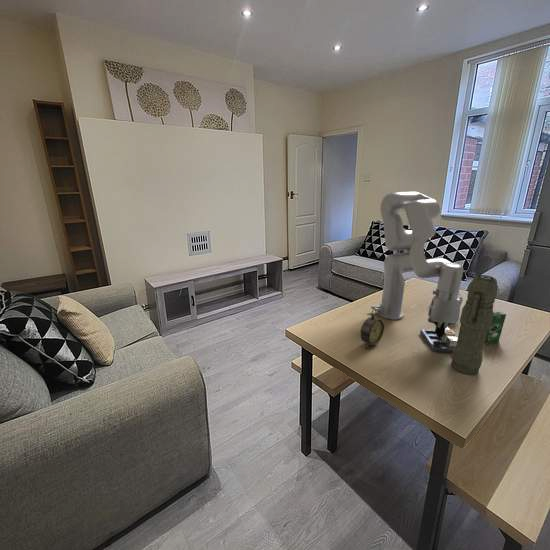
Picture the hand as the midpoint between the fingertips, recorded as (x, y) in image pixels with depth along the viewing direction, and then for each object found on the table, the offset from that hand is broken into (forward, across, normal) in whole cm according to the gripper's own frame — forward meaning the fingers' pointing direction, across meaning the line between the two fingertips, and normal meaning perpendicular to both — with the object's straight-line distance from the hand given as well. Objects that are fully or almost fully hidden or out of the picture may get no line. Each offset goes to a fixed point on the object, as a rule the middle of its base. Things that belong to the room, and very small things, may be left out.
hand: (439, 335), depth 120 cm
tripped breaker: (+3, +4, 0) cm, 4 cm away
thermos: (+4, +3, -16) cm, 17 cm away
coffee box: (+4, +22, +4) cm, 23 cm away
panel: (+4, +1, 0) cm, 4 cm away
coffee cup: (+4, +15, +26) cm, 30 cm away
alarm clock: (+4, -28, -4) cm, 29 cm away
